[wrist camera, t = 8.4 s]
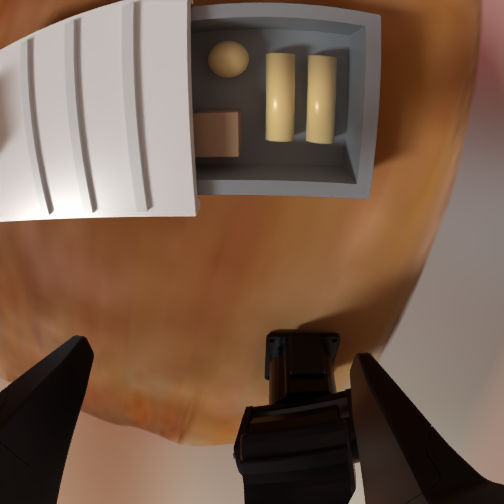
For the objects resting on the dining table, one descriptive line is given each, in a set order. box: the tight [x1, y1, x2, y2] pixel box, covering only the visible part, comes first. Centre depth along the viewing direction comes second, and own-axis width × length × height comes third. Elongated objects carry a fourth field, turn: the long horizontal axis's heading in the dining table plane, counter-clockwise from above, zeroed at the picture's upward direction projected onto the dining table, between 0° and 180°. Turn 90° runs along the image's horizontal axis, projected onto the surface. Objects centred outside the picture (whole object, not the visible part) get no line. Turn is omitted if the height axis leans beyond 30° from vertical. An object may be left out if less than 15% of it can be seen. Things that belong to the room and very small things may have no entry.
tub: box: [191, 3, 381, 199], centre depth 15 cm, size 10×14×4 cm
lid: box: [0, 0, 201, 222], centre depth 12 cm, size 12×16×5 cm
